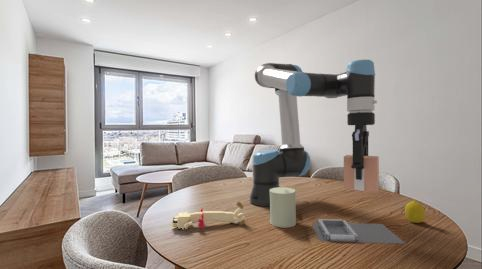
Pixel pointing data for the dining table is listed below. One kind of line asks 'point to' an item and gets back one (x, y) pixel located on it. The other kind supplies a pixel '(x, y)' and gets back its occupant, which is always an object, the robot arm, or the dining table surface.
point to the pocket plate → (353, 232)
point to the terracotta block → (370, 173)
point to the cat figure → (208, 217)
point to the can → (282, 207)
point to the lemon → (414, 212)
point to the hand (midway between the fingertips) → (361, 187)
